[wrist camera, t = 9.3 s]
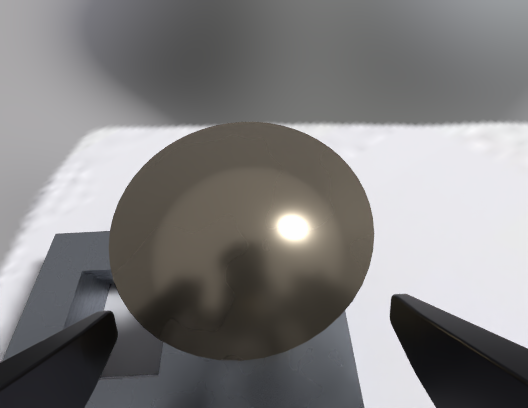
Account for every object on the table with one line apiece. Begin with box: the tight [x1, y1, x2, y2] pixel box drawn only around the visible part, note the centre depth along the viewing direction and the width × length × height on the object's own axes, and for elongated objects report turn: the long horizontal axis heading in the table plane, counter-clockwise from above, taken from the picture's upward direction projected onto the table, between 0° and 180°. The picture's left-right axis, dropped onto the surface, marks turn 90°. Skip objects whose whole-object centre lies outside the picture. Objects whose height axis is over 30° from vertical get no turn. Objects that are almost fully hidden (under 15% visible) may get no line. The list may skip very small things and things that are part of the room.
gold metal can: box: [109, 122, 374, 361], centre depth 10 cm, size 5×5×12 cm
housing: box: [3, 231, 364, 408], centre depth 17 cm, size 12×20×4 cm, turn 93°
